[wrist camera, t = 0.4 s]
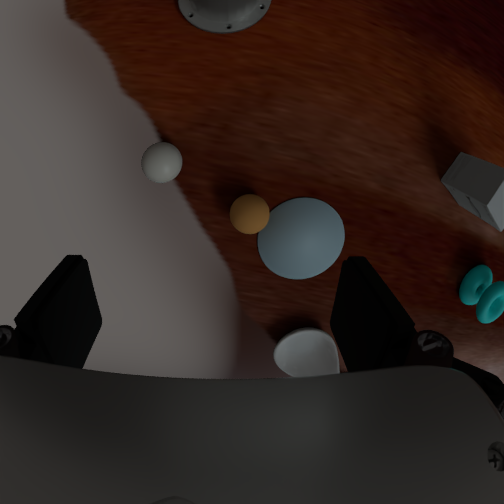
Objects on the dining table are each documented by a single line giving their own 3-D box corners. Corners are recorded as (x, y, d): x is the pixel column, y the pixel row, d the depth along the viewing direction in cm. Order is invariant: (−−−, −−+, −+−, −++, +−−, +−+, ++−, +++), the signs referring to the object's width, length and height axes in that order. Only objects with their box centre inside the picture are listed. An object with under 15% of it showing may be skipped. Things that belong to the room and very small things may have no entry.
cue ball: (144, 144, 39) (132, 149, 34) (181, 136, 39) (174, 141, 34) (151, 180, 42) (141, 191, 37) (187, 174, 42) (182, 183, 37)
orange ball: (227, 192, 43) (227, 204, 39) (265, 187, 44) (270, 198, 39) (232, 227, 46) (232, 242, 41) (268, 222, 46) (273, 237, 41)
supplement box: (438, 180, 44) (486, 205, 33) (460, 150, 42) (509, 168, 31) (457, 205, 47) (501, 233, 35) (477, 177, 44) (523, 199, 33)
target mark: (252, 203, 44) (253, 203, 44) (344, 193, 45) (344, 193, 44) (262, 283, 51) (262, 284, 51) (342, 272, 51) (343, 272, 51)
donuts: (515, 301, 47) (485, 332, 50) (490, 278, 56) (463, 307, 58) (509, 277, 43) (476, 312, 46) (481, 254, 52) (451, 285, 55)
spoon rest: (259, 341, 57) (262, 368, 51) (309, 307, 54) (318, 333, 48) (322, 389, 66) (329, 412, 60) (364, 363, 63) (374, 386, 57)
